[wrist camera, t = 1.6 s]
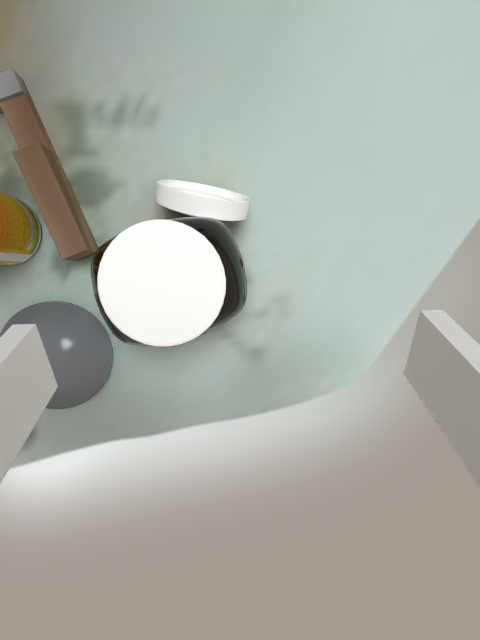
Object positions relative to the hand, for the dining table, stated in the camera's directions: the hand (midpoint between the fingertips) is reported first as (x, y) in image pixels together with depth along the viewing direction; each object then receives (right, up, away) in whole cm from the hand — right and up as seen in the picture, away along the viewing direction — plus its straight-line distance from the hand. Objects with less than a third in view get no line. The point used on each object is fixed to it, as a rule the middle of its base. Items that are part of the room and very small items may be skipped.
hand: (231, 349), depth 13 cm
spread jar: (-4, +7, +18) cm, 20 cm away
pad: (-15, -2, +18) cm, 24 cm away
